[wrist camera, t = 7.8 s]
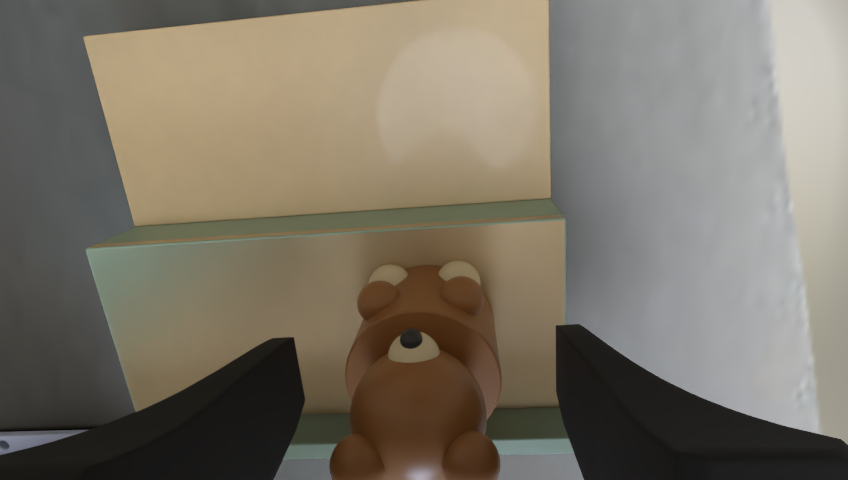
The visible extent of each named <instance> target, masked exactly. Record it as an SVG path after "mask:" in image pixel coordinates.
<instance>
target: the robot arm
mask: <svg viewBox="0 0 848 480" xmlns="http://www.w3.org/2000/svg"><path fill="white" fill-rule="evenodd" d="M556 394H557V398H558V402H559V407H560V411H561V415H562V420H563V424H564V427H565V430H566V432H567V435H568V438H569V440H570V443H571V446H572V448H573V451H574V454H575V456H576V459H577V462H578V464H579V467H580V470H581V472H582V475H583V477H584V480H848V445H847V444H846V443H845V442H844V441H842V440H841V439H837V438H833V437H828V436H824V435H820V434H816V433H811V432H807V431H803V430H798V429H794V428H790V427H786V426H782V425H778V424H775V423H772V422H768V421H765V420H762V419H758V418H755V417H752V416H749V415H746V414H743V413H740V412H737V411H734V410H731V409H728V408H726V407H723V406H721V405H718V404H715V403H713V402H710V401H708V400H705V399H703V398H700V397H698V396H696V395H694V394H691V393H689V392H687V391H685V390H683V389H681V388H679V387H677V386H675V385H673V384H671V383H669V382H667V381H665V380H663V379H661V378H659V377H657V376H656V375H654V374H652V373H650V372H649V371H647V370H645V369H644V368H642V367H640V366H639V365H637V364H635V363H634V362H632V361H631V360H629V359H628V358H626V357H625V356H623V355H622V354H620V353H619V352H617V351H616V350H614V349H613V348H612V347H610V346H609V345H607V344H606V343H605V342H603V341H602V340H601V339H599V338H598V337H596V336H595V335H594V334H592V333H591V332H590V331H588V330H587V329H586V328H584V327H583V326H581V325H579V324H575V325H556ZM304 403H305V395H304V390H303V385H302V379H301V374H300V368H299V363H298V357H297V352H296V347H295V341H294V337H284V338H272V339H269V340H267V341H265V342H263V343H262V344H260V345H258V346H256V347H255V348H253V349H251V350H250V351H248V352H246V353H245V354H243V355H241V356H240V357H238V358H237V359H235V360H233V361H232V362H230V363H228V364H227V365H225V366H224V367H222V368H220V369H219V370H217V371H215V372H214V373H212V374H210V375H208V376H207V377H205V378H203V379H201V380H199V381H198V382H196V383H194V384H192V385H191V386H189V387H187V388H185V389H184V390H182V391H180V392H178V393H176V394H174V395H172V396H170V397H168V398H166V399H164V400H162V401H160V402H157V403H155V404H153V405H151V406H149V407H147V408H144V409H142V410H140V411H137V412H135V413H132V414H130V415H127V416H125V417H122V418H120V419H117V420H115V421H112V422H110V423H107V424H104V425H102V426H99V427H96V428H93V429H90V430H54V431H15V432H0V480H273V479H274V477H275V475H276V473H277V470H278V468H279V466H280V464H281V462H282V460H283V458H284V456H285V454H286V452H287V449H288V447H289V445H290V443H291V441H292V439H293V436H294V434H295V432H296V429H297V426H298V423H299V420H300V417H301V413H302V410H303V406H304Z"/></svg>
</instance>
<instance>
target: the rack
mask: <svg viewBox="0 0 848 480" xmlns="http://www.w3.org/2000/svg"><path fill="white" fill-rule="evenodd" d="M83 38H84V42H85V45H86V49H87V53H88V56H89V60H90V64H91V67H92V71H93V75H94V78H95V82H96V86H97V89H98V93H99V97H100V100H101V104H102V108H103V111H104V115H105V119H106V122H107V126H108V130H109V133H110V137H111V141H112V144H113V148H114V152H115V155H116V159H117V163H118V166H119V170H120V174H121V177H122V181H123V185H124V188H125V192H126V196H127V199H128V203H129V207H130V210H131V214H132V218H133V221H134V225H135V226H136V227H134V228H132V229H129V230H127V231H125V232H123V233H120V234H118V235H116V236H113V237H111V238H109V239H106V240H104V241H102V242H100V243H97V244H95V245H93V246H90V247H88V248H86V253H87V257H88V260H89V263H90V266H91V270H92V273H93V276H94V279H95V283H96V286H97V289H98V292H99V295H100V299H101V302H102V305H103V308H104V312H105V315H106V318H107V321H108V325H109V328H110V331H111V334H112V338H113V341H114V344H115V347H116V351H117V354H118V357H119V360H120V364H121V367H122V370H123V373H124V376H125V380H126V383H127V386H128V389H129V393H130V396H131V399H132V402H133V406H134V409H135V412H137V411H140V410H142V409H144V408H147V407H149V406H151V405H153V404H155V403H157V402H160V401H162V400H164V399H166V398H168V397H170V396H172V395H174V394H176V393H178V392H180V391H182V390H184V389H185V388H187V387H189V386H191V385H192V384H194V383H196V382H198V381H199V380H201V379H203V378H205V377H207V376H208V375H210V374H212V373H214V372H215V371H217V370H219V369H220V368H222V367H224V366H225V365H227V364H228V363H230V362H232V361H233V360H235V359H237V358H238V357H240V356H241V355H243V354H245V353H246V352H248V351H250V350H251V349H253V348H255V347H256V346H258V345H260V344H262V343H263V342H265V341H267V340H269V339H272V338H284V337H294V341H295V347H296V352H297V357H298V363H299V368H300V374H301V379H302V385H303V390H304V395H305V403H304V406H303V410H302V413H301V417H300V420H299V423H298V426H297V429H296V432H295V434H294V436H293V439H292V441H291V443H290V445H289V447H288V449H287V452H286V454H285V456H284V458H283V459H319V458H331V455H332V452H333V450H334V448H335V447H336V445H337V444H338V443H339V442H340V441H341V440H342V439H343V438H345V437H346V436H348V435H351V431H350V407H351V403H352V402H351V399H350V396H349V394H348V391H347V386H346V379H345V369H346V362H347V358H348V355H349V352H350V350H351V347H352V345H353V342H354V340H355V338H356V335H357V333H358V330H359V328H360V325H361V323H362V321H363V318H362V317H361V315H360V313H359V311H358V308H357V299H358V295H359V293H360V291H361V290H362V289H363V287H364V286H366V285H367V284H369V280H370V277H371V275H372V274H373V272H374V271H375V270H377V269H378V268H379V267H381V266H384V265H389V264H392V265H397V266H400V267H402V268H403V269H406V268H409V267H414V266H419V265H437V266H444V265H446V264H447V263H449V262H452V261H464V262H467V263H469V264H471V265H472V266H473V267H474V268H475V269H476V270H477V272H478V274H479V277H480V282H481V283H480V287H481V288H482V290H483V292H484V294H485V296H486V297H487V299H488V301H489V304H490V306H491V309H492V313H493V319H494V326H495V333H496V340H497V347H498V354H499V361H500V368H501V376H502V386H501V392H500V397H499V400H498V402H497V405H496V407H495V409H494V411H493V412H492V414H491V415H490V417H489V418H488V419H487V420H486V431H485V435H486V436H487V437H489V438H490V439H491V440H492V441H493V443H494V444H495V446H496V448H497V450H498V452H499V455H526V454H574V451H573V448H572V446H571V443H570V440H569V438H568V435H567V432H566V430H565V427H564V424H563V420H562V415H561V411H560V407H559V402H558V398H557V394H556V325H566V218H565V217H564V216H563V214H562V213H561V212H560V211H559V209H558V208H557V207H556V206H555V204H554V203H553V202H552V201H551V199H550V198H551V169H550V52H549V0H417V1H408V2H398V3H389V4H379V5H370V6H361V7H351V8H342V9H333V10H323V11H314V12H305V13H295V14H286V15H277V16H267V17H258V18H249V19H239V20H230V21H221V22H211V23H202V24H193V25H183V26H174V27H165V28H155V29H146V30H137V31H127V32H118V33H109V34H99V35H90V36H84V37H83Z"/></svg>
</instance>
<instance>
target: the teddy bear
mask: <svg viewBox="0 0 848 480" xmlns="http://www.w3.org/2000/svg"><path fill="white" fill-rule="evenodd" d="M480 283H481V282H480V277H479V274H478V272H477V270H476V269H475V268H474V267H473V266H472V265H471V264H469V263H467V262H464V261H452V262H449V263H447V264H446V265H444V266H437V265H419V266H414V267H409V268H406V269H403V268H402V267H400V266H397V265H392V264H389V265H384V266H381V267H379V268H378V269H377V270H375V271H374V272H373V274H372V275H371V277H370V280H369V284H367V285H366V286H364V287H363V289H362V290H361V291H360V293H359V295H358V299H357V308H358V311H359V313H360V315H361V317H362V318H363V321H362V323H361V325H360V328H359V330H358V333H357V335H356V338H355V340H354V342H353V345H352V347H351V350H350V352H349V355H348V358H347V362H346V369H345V379H346V386H347V391H348V394H349V396H350V399H351V402H352V403H351V407H350V431H351V435H348V436H346V437H345V438H343V439H342V440H341V441H340V442H339V443H338V444H337V445H336V447H335V448H334V450H333V452H332V455H331V458H330V474H331V478H332V480H497V478H498V475H499V471H500V456H499V452H498V450H497V448H496V446H495V444H494V443H493V441H492V440H491V439H490V438H489V437H487V436H486V435H485V431H486V420H487V419H488V418H489V417H490V415H491V414H492V412H493V411H494V409H495V407H496V405H497V402H498V400H499V397H500V392H501V386H502V376H501V368H500V361H499V354H498V347H497V340H496V333H495V326H494V319H493V313H492V309H491V306H490V304H489V301H488V299H487V297H486V296H485V294H484V292H483V290H482V288H481V287H480Z"/></svg>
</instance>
